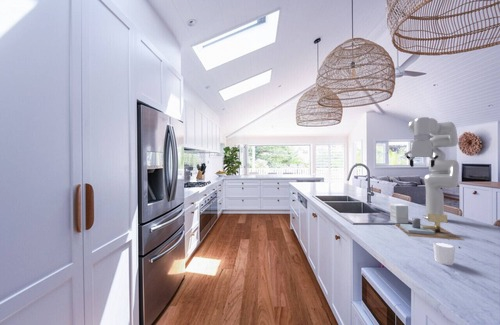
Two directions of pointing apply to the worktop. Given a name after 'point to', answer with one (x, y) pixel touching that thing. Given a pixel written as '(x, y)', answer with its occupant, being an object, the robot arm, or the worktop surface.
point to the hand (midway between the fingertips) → (421, 166)
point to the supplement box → (399, 213)
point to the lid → (416, 227)
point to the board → (442, 234)
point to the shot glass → (444, 253)
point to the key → (436, 221)
